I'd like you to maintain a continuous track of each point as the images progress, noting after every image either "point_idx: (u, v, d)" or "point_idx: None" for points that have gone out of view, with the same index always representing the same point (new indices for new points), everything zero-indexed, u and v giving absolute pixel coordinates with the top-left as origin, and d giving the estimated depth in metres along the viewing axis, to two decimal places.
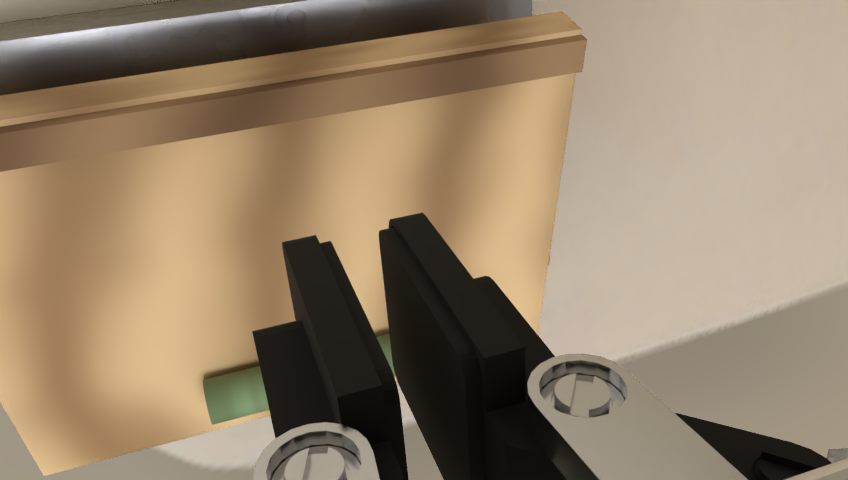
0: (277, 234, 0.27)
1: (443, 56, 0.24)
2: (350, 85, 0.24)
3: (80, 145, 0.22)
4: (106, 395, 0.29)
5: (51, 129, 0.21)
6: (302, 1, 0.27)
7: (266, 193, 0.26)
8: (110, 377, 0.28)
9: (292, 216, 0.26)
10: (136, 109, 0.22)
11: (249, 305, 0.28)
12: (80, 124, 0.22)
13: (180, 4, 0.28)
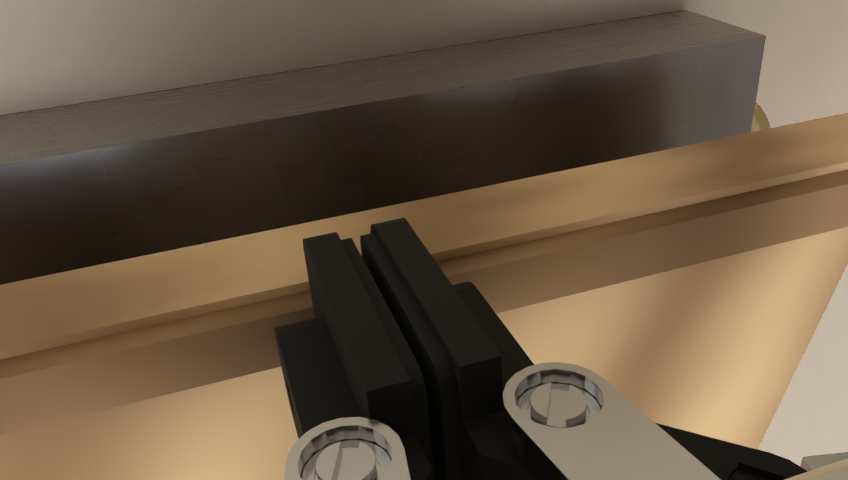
0: None
1: (683, 206, 0.14)
2: (531, 268, 0.13)
3: (39, 407, 0.12)
4: None
5: None
6: (417, 94, 0.17)
7: None
8: None
9: None
10: (146, 338, 0.12)
11: None
12: (37, 376, 0.11)
13: (216, 93, 0.18)
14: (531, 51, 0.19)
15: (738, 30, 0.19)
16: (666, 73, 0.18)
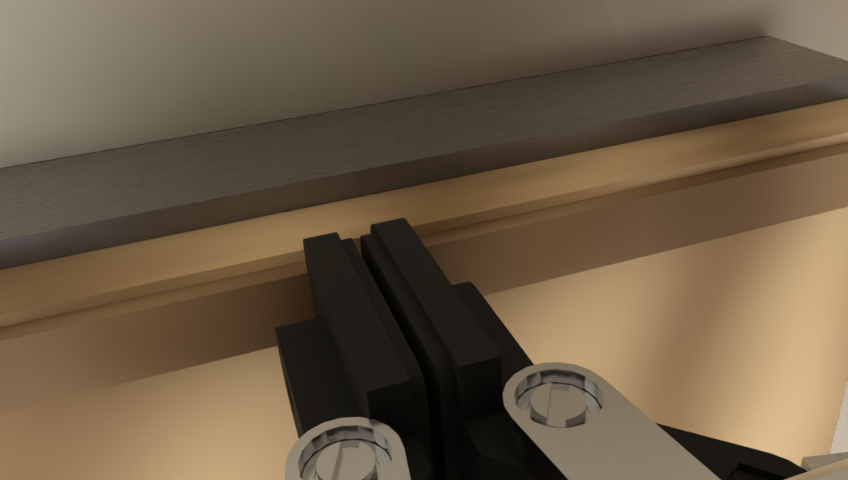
0: None
1: (692, 175, 0.14)
2: (539, 235, 0.13)
3: (32, 381, 0.11)
4: None
5: None
6: (477, 147, 0.14)
7: None
8: None
9: None
10: (143, 304, 0.11)
11: None
12: (31, 341, 0.11)
13: (234, 143, 0.15)
14: (601, 89, 0.16)
15: (841, 62, 0.16)
16: (762, 115, 0.16)
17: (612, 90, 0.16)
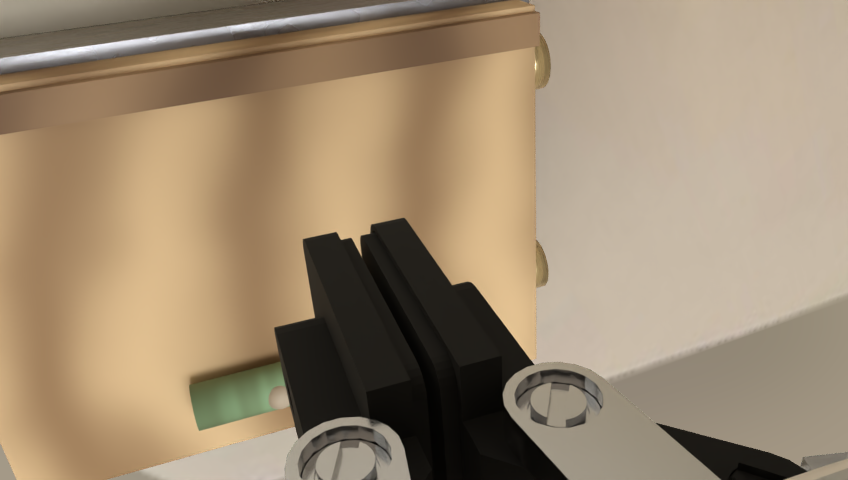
0: (258, 217, 0.28)
1: (405, 30, 0.26)
2: (318, 54, 0.25)
3: (64, 110, 0.23)
4: (91, 402, 0.28)
5: (37, 93, 0.23)
6: (294, 17, 0.26)
7: (245, 171, 0.27)
8: (95, 379, 0.28)
9: (272, 197, 0.27)
10: (117, 75, 0.24)
11: (234, 299, 0.29)
12: (64, 88, 0.23)
13: (168, 20, 0.27)
14: None
15: None
16: None
17: None
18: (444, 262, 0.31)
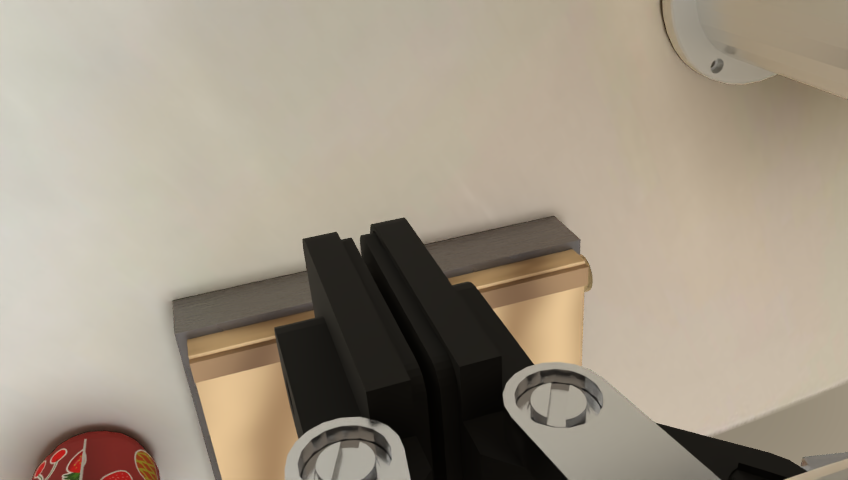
0: None
1: (504, 283, 0.42)
2: None
3: None
4: None
5: None
6: None
7: None
8: None
9: None
10: None
11: None
12: None
13: None
14: (480, 245, 0.44)
15: (570, 234, 0.44)
16: None
17: (484, 246, 0.44)
18: None
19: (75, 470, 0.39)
